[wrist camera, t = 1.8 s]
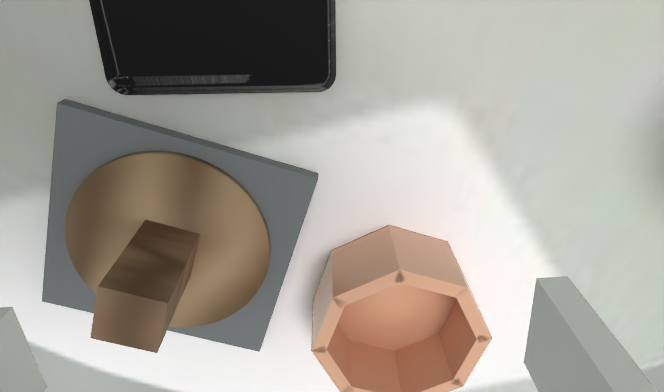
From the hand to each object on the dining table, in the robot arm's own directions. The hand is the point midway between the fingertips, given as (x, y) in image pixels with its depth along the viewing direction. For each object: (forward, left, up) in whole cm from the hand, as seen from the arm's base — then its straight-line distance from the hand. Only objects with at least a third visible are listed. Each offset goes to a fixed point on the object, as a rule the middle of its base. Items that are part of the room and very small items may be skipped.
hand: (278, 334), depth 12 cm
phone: (-7, +3, -23) cm, 24 cm away
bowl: (+11, -13, -23) cm, 29 cm away
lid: (-7, -13, -22) cm, 26 cm away
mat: (-7, -13, -23) cm, 27 cm away
